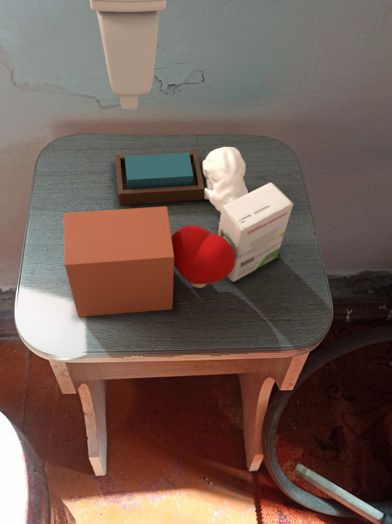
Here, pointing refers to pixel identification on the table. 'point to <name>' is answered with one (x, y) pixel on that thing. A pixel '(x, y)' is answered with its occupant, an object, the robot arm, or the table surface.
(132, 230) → the orange cardboard box
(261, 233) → the ink box
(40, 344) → the table surface
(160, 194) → the brown rectangular tray
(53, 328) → the table surface
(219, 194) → the white irregular lump
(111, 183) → the table surface
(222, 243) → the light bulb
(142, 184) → the teal rectangular block
